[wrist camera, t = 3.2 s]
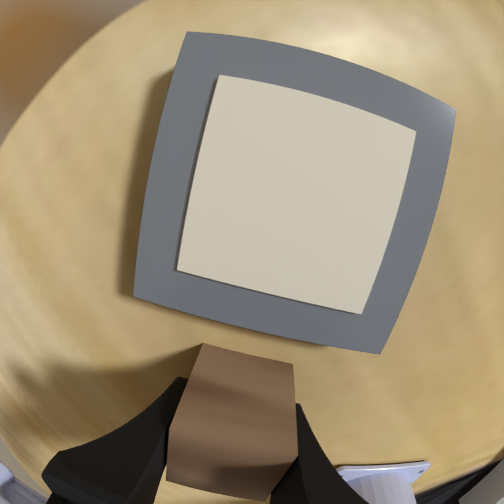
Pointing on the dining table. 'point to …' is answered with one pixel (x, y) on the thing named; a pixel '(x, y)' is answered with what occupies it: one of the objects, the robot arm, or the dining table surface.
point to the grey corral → (487, 489)
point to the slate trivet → (290, 192)
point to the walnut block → (234, 425)
